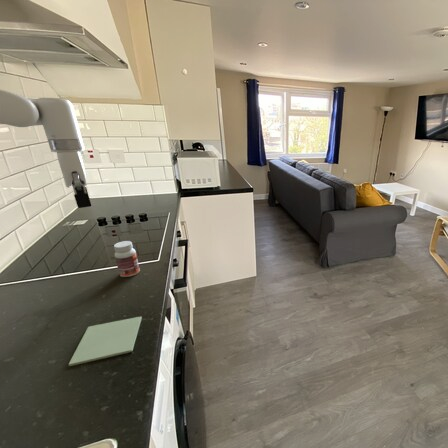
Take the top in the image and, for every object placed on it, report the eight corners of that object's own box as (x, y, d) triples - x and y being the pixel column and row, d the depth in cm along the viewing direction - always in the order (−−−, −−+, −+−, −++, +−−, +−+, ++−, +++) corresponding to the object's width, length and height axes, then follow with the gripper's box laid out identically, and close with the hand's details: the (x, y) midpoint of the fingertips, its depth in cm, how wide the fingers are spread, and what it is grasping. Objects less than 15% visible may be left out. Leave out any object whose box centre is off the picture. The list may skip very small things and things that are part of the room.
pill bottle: (141, 274, 91) (134, 245, 87) (120, 279, 88) (112, 249, 84) (139, 266, 96) (132, 238, 92) (119, 271, 93) (111, 242, 89)
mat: (69, 366, 57) (68, 364, 56) (88, 328, 67) (88, 326, 67) (132, 351, 61) (131, 349, 60) (141, 318, 71) (141, 316, 71)
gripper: (51, 144, 79) (68, 199, 85) (48, 148, 66) (68, 212, 72) (82, 143, 83) (96, 195, 89) (85, 147, 71) (101, 207, 77)
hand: (84, 203), depth 81 cm, fingers open, 9 cm apart
